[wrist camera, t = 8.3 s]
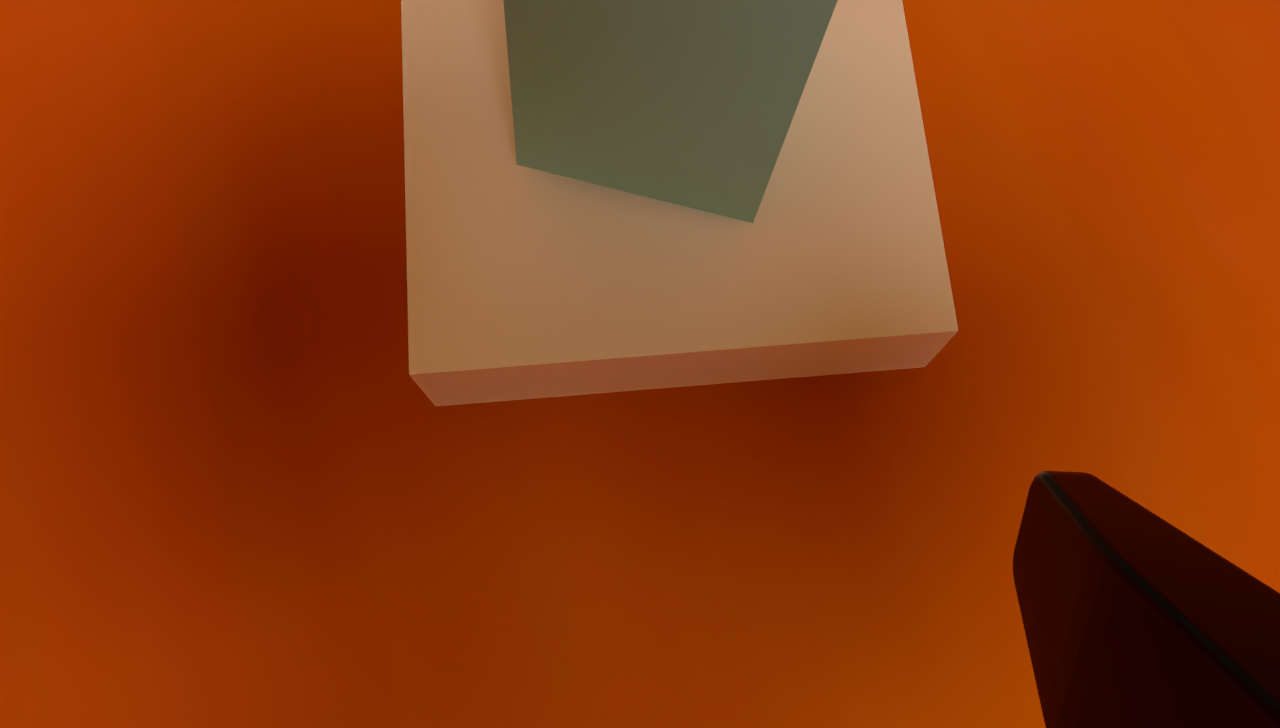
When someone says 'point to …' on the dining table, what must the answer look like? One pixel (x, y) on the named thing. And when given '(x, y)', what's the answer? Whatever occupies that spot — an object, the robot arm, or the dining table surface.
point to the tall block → (661, 92)
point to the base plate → (665, 235)
